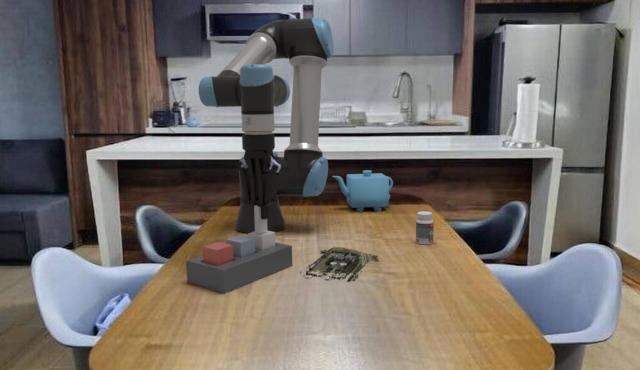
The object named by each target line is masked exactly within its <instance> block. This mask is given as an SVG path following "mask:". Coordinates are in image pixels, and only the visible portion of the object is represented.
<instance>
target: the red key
mask: <svg viewBox="0 0 640 370" xmlns="http://www.w3.org/2000/svg"><path fill="white" fill-rule="evenodd" d="M202 255H203V262H204V263H208V264H211V265H215V266H219V265H222V264H225V263H228V262H231V261H233V245H230V244H226V243H225V242H220V241H217V242H213V243H211V244H207V245H203V246H202Z"/></svg>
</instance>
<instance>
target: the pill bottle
mask: <svg viewBox="0 0 640 370" xmlns="http://www.w3.org/2000/svg"><path fill="white" fill-rule="evenodd" d="M416 217H417V219H416V220H415V243H416V244H418V245H426V246H427V245H432V244H433V243H434V230H435V229H434V226H435V225H434V223H435V221H434V220H433V213H432V212H431V211H418V212H417V215H416Z"/></svg>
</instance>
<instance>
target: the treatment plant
mask: <svg viewBox="0 0 640 370" xmlns="http://www.w3.org/2000/svg"><path fill="white" fill-rule="evenodd" d="M319 253H320V254H322V255H321V256H320V257H318V258H316V260H315V261H314V262H313V263H311V264H308V265H307V266H306V268H305V275H303V276H302V277H303V278H304V279H312V278H313V277H316V278H318V277H319V278H322V279H325V280H329V281H332V280H333V279H337V280H338V281H339V280H340V282H342V280H346V278H347V276H349V275H350V276H349V277H348V278H347V282H349V281H353V282H354V281H356V280H357V279H358V278H359V274H357V273H359V272H360V274H363V275H365V274H364V273H362V269H363V268H365V266H366V265H368V264H369V265H371V264H375V265H378V263H379V261H380V260H379V259H378V257H379V255H374V254H372V253H367V252H364V251H360V250H357V249H352V248H346V247H344V246H343V247H341V246H340V247H339V246H333V247H331V248H329V249H323V250H320V252H319ZM307 269H308V270H307ZM312 272H313V273H312ZM298 273H299V274H301V273H302V270H300V271H299V272H298ZM317 273H318V274H317ZM328 274H331V275H328ZM337 275H339V276H337Z"/></svg>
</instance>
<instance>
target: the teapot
mask: <svg viewBox="0 0 640 370" xmlns="http://www.w3.org/2000/svg"><path fill="white" fill-rule="evenodd" d="M372 172H373V171H372V170H368V169H366V170H362V173H349V174H348V173H347V174H346V184H345V181H344V179H343V178H342V177H341V176H339V175H332V176H331V177H332V178H334V179H335V180H336V181H338V184H339V187H340V191H341V193H342V194H343V195H344V197H346V202H347V204H348V205H349V206H350V208H353V209H355V212H357V213H361V212H362V211H363V212H364V210H365V208H373V210H374V212H383V209H382V208H385V207H386V208H388V207H389V206H390V205H389V204H390V203H389V202H390V201H389V200H390V199H391V194H390V190H391V189H392V188H393V185H394V181H393V179H392V178H391V177H390V176H387V175H385V174H383V173H379V172H378V173H372Z"/></svg>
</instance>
